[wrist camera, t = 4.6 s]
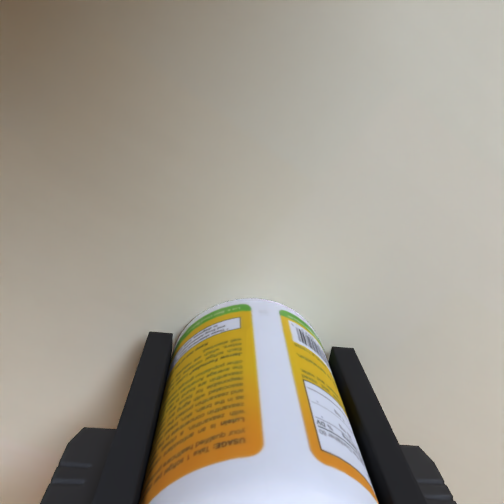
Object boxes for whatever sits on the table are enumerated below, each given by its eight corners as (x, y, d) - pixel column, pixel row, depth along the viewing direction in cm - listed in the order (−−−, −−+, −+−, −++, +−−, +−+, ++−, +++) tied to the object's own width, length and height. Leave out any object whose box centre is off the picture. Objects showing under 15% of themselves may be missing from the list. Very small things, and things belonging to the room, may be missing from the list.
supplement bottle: (163, 406, 15) (61, 881, 6) (184, 281, 13) (81, 704, 4) (300, 424, 16) (394, 875, 7) (340, 307, 14) (547, 720, 5)
